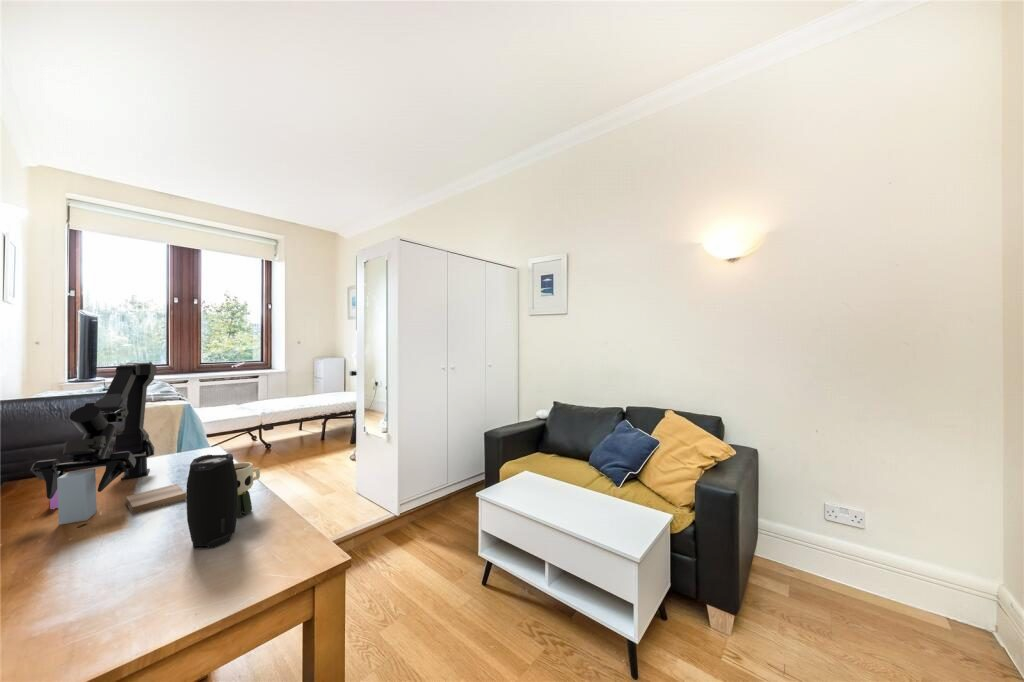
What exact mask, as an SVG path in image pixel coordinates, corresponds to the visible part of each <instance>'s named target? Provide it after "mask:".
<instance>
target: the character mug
mask: <svg viewBox="0 0 1024 682" xmlns="http://www.w3.org/2000/svg"><path fill="white" fill-rule="evenodd" d="M234 466H235V470H236V474H237V485H238V515H237V518H240V517H241V516H242V513H243V512H244V515H248V514H249V513H251V512H252V511H253V505H252V500H251V495H250V491H249V490H251V489H252V487H253V485H254V481H256V480H259V479H260V477H261V470H260V469H261V468H260V467H254V466H253V463H252V462H249V461H248V462H247V461H245V462H236V463H235V462H234ZM254 473H255V476H254Z"/></svg>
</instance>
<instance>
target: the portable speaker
mask: <svg viewBox="0 0 1024 682" xmlns="http://www.w3.org/2000/svg"><path fill="white" fill-rule="evenodd" d="M234 464H235V462H234V455H233V453H226V454H206V455H201V456H198V457H195V458H193V460H192V461H191V463H190V465H189V471H188V476H187V481H186V491H185V492H186V500H185V501H186V520H187V526H188V530H189V536H190V540H191V543H192V548H193V549H195V548H198V546H204V547H205V546H207V547H208V548H211V549H212V548H217V547H220V546H222V545H224V544H226V543H228V542H230V541H231V539H232V536H233V535H234V533H235V532H236V527H237V521H238V517H237V515H238V485H237V474H236V470H235V466H234Z"/></svg>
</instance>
